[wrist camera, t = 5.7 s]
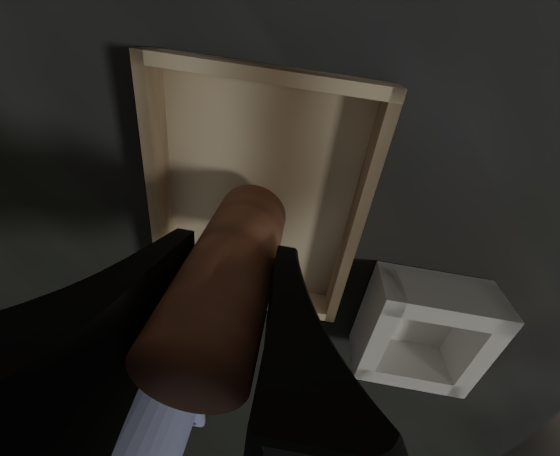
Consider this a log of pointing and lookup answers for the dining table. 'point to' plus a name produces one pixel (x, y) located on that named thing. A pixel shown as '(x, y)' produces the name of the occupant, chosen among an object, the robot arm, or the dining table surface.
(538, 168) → the dining table surface
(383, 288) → the gray square open box
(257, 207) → the pin
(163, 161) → the tray
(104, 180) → the dining table surface
